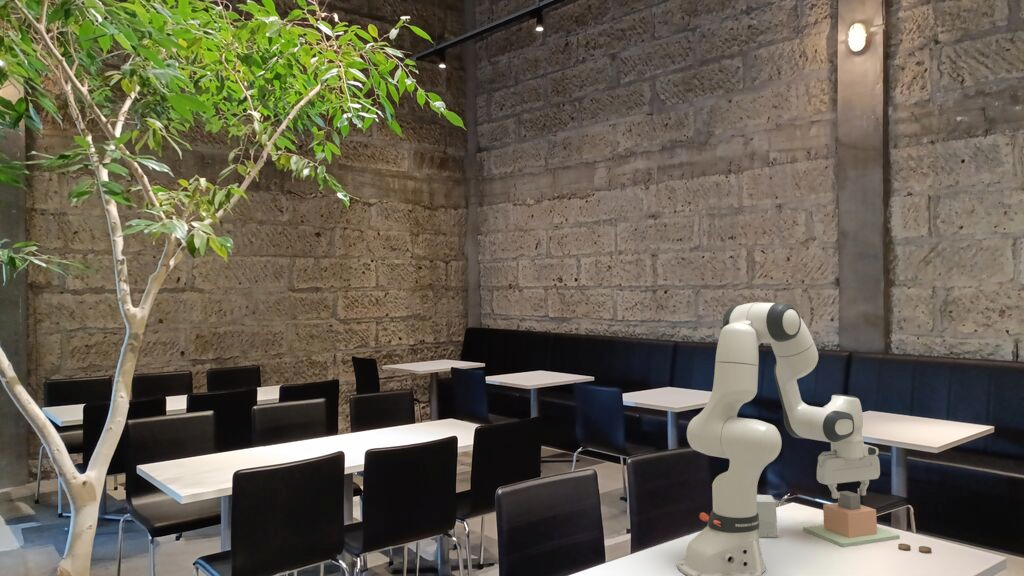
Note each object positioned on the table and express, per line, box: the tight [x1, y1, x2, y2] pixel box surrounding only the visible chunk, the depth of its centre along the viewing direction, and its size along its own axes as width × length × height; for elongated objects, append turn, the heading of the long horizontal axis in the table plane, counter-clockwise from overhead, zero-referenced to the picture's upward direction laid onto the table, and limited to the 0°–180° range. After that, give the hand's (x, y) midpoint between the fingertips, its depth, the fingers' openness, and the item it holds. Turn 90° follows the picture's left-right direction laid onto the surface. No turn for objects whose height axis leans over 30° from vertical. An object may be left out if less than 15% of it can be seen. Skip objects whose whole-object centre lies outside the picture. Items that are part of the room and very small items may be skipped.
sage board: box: [803, 523, 901, 548], centre depth 211 cm, size 20×16×1 cm
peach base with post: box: [822, 490, 878, 538], centre depth 211 cm, size 10×10×11 cm
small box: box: [757, 494, 778, 538], centre depth 214 cm, size 8×6×10 cm
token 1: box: [897, 543, 912, 552], centre depth 198 cm, size 3×3×1 cm
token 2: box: [918, 545, 932, 555], centre depth 196 cm, size 3×3×1 cm
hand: (849, 496), depth 212 cm, fingers open, 8 cm apart
